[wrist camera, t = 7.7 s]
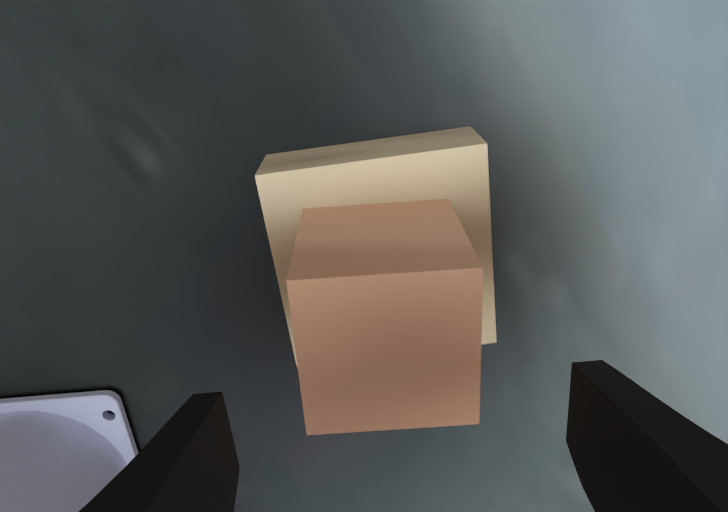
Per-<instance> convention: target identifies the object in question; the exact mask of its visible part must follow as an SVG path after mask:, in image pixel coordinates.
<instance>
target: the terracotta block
mask: <svg viewBox="0 0 728 512" xmlns="http://www.w3.org/2000/svg"><path fill="white" fill-rule="evenodd" d="M286 283H287V291H288V298H289V306H290V313H291V321H292V328H293V336H294V344H295V351H296V359H297V366H298V374H299V381H300V389H301V397H302V404H303V412H304V419H305V427H306V434H307V435H318V434H334V433H349V432H365V431H380V430H396V429H411V428H427V427H442V426H458V425H473V424H479V418H480V378H481V338H482V298H483V266H482V264H481V262H480V260H479V258H478V256H477V254H476V252H475V250H474V248H473V246H472V244H471V242H470V240H469V238H468V236H467V234H466V232H465V230H464V228H463V226H462V224H461V222H460V220H459V219H458V217H457V215H456V213H455V211H454V209H453V207H452V205H451V203H450V201H449V199H440V200H425V201H409V202H394V203H379V204H364V205H349V206H333V207H318V208H303V210H302V215H301V219H300V223H299V228H298V232H297V236H296V240H295V245H294V249H293V253H292V258H291V262H290V266H289V271H288V275H287V279H286Z"/></svg>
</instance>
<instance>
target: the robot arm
mask: <svg viewBox="0 0 728 512" xmlns="http://www.w3.org/2000/svg"><path fill="white" fill-rule="evenodd" d="M107 410H109V411H112V412H114V414H110V413H108V412H107ZM566 442H567V445H568V448H569V451H570V454H571V457H572V459H573V462H574V465H575V468H576V471H577V473H578V476H579V479H580V481H581V484H582V486H583V489H584V491H585V493H586V495H587V497H588V499H589V501H590V503H591V505H592V507H593V509H594V511H595V512H728V444H726V443H725V442H723V441H722V440H720V439H718V438H717V437H715V436H713V435H712V434H710V433H709V432H707V431H705V430H704V429H702V428H701V427H699V426H698V425H696V424H695V423H693V422H692V421H690V420H688V419H687V418H685V417H684V416H682V415H681V414H679V413H678V412H677V411H675V410H674V409H672V408H671V407H669V406H668V405H666V404H665V403H663V402H662V401H660V400H659V399H658V398H656V397H655V396H653V395H652V394H650V393H649V392H648V391H646V390H645V389H643V388H642V387H640V386H639V385H638V384H636V383H635V382H633V381H632V380H631V379H629V378H628V377H626V376H625V375H623V374H622V373H621V372H619V371H618V370H616V369H615V368H613V367H612V366H610V365H609V364H607V363H606V362H604V361H603V360H597V361H585V362H573V363H572V370H571V383H570V396H569V409H568V422H567V435H566ZM239 468H240V467H239V463H238V458H237V454H236V450H235V445H234V441H233V437H232V432H231V428H230V424H229V419H228V415H227V411H226V406H225V402H224V397H223V393H222V392H213V393H201V394H193V395H192V396H191V397H190V398H189V399H188V400H187V401H186V402H185V403H184V404H183V405H182V406H181V408H180V409H179V410H178V411H177V412H176V413H175V414H174V415H173V416H172V417H171V418H170V420H169V421H168V422H167V423H166V424H165V425H164V426H163V427H162V428H161V429H160V431H159V432H158V433H157V434H156V435H155V436H154V437H153V438H152V439H151V440H150V441H149V442H148V443H147V445H146V446H145V447H144V448H143V449H142V450H141V451H140V452H139V453H138V450H137V447H136V444H135V441H134V438H133V435H132V431H131V428H130V425H129V422H128V419H127V416H126V413H125V410H124V407H123V403H122V400H121V398H120V396H119V395H118V394H117V393H115V392H113V391H110V390H101V391H89V392H77V393H65V394H53V395H41V396H29V397H17V398H4V399H0V512H234V505H235V498H236V491H237V484H238V476H239Z"/></svg>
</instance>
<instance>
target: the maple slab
mask: <svg viewBox="0 0 728 512" xmlns="http://www.w3.org/2000/svg"><path fill="white" fill-rule="evenodd" d="M255 180H256V184H257V189H258V193H259V198H260V202H261V207H262V211H263V216H264V220H265V225H266V230H267V234H268V239H269V243H270V248H271V252H272V257H273V261H274V266H275V270H276V275H277V279H278V284H279V288H280V293H281V297H282V302H283V307H284V311H285V316H286V320H287V325H288V329H289V334H290V338H291V343H292V347H293V352H294V356H295V361H296V365H297V359H296V351H295V344H294V336H293V328H292V321H291V313H290V306H289V298H288V291H287V283H286V279H287V275H288V271H289V266H290V262H291V258H292V253H293V249H294V245H295V240H296V236H297V232H298V228H299V223H300V219H301V215H302V210H303V208H318V207H333V206H349V205H364V204H379V203H394V202H409V201H425V200H440V199H449V201H450V203H451V205H452V207H453V209H454V211H455V213H456V215H457V217H458V219H459V220H460V222H461V224H462V226H463V228H464V230H465V232H466V234H467V236H468V238H469V240H470V242H471V244H472V246H473V248H474V250H475V252H476V254H477V256H478V258H479V260H480V262H481V264H482V266H483V298H482V338H481V345H482V344H490V343H497V341H496V320H495V299H494V277H493V256H492V235H491V213H490V192H489V171H488V149H487V143H486V142H485V141H484V140H483V139H482V137H481V136H480V135H479V134H478V133H477V132H476V131H475V130H474V129H473V128H472V127H471V126H469V127H462V128H455V129H447V130H440V131H433V132H426V133H419V134H411V135H404V136H397V137H390V138H383V139H375V140H368V141H361V142H354V143H347V144H340V145H332V146H325V147H318V148H311V149H304V150H296V151H289V152H282V153H275V154H268V155H266V156H265V158H264V160H263V161H262V163H261V165H260V167H259V169H258V170H257V172H256V174H255ZM297 367H298V366H297Z"/></svg>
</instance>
